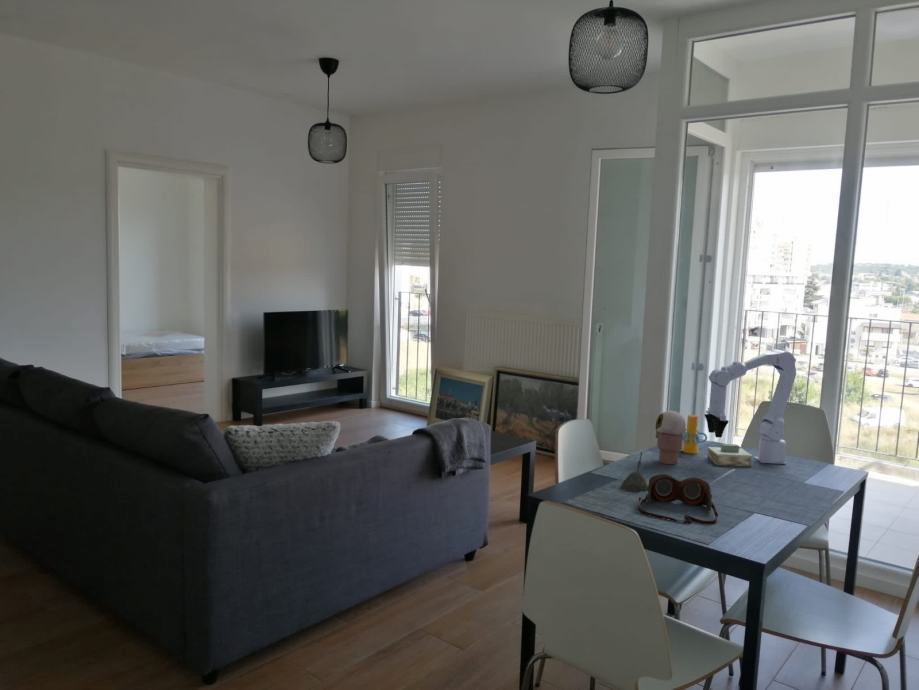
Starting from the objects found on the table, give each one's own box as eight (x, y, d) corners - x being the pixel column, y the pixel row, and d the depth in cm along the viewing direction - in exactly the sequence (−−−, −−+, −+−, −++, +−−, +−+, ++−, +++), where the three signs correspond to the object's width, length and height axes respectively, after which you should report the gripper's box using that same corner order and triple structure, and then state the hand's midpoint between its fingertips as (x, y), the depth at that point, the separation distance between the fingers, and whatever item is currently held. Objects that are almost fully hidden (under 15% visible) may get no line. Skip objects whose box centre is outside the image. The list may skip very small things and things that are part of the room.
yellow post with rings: (670, 447, 295) (673, 412, 293) (694, 447, 297) (697, 412, 295) (685, 456, 283) (688, 419, 281) (709, 455, 285) (712, 419, 283)
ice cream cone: (647, 458, 276) (651, 408, 274) (671, 457, 280) (676, 407, 277) (663, 466, 266) (667, 414, 264) (688, 465, 270) (692, 413, 267)
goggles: (645, 522, 207) (649, 489, 206) (624, 497, 230) (627, 467, 229) (728, 527, 208) (732, 494, 207) (698, 502, 231) (702, 472, 230)
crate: (740, 459, 282) (741, 450, 282) (750, 466, 272) (751, 457, 272) (707, 457, 282) (708, 449, 282) (716, 464, 272) (717, 455, 272)
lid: (741, 452, 282) (742, 442, 282) (752, 459, 272) (753, 449, 271) (707, 450, 282) (708, 440, 281) (717, 458, 272) (718, 447, 271)
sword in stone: (637, 494, 233) (638, 458, 232) (616, 489, 238) (618, 454, 237) (653, 488, 240) (655, 453, 239) (633, 483, 245) (634, 449, 244)
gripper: (701, 396, 284) (698, 429, 285) (713, 403, 269) (711, 439, 271) (718, 397, 284) (716, 430, 285) (732, 404, 269) (729, 439, 271)
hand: (714, 434), depth 278 cm, fingers open, 7 cm apart
